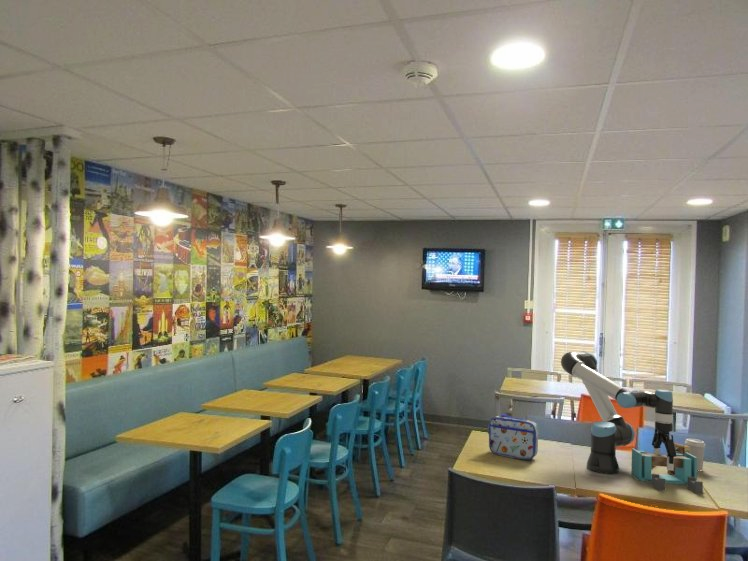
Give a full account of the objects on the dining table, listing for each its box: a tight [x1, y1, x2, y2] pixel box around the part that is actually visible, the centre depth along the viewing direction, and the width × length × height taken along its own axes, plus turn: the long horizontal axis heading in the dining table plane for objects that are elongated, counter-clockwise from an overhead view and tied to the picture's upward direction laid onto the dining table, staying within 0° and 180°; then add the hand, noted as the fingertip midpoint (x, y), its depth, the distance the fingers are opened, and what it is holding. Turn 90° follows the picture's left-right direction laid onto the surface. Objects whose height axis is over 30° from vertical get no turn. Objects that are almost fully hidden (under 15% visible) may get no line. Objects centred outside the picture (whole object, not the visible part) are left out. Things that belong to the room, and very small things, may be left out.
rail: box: [642, 453, 687, 468], centre depth 241 cm, size 22×4×4 cm, turn 83°
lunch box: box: [486, 413, 539, 461], centre depth 271 cm, size 28×10×22 cm, turn 58°
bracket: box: [631, 447, 698, 486], centre depth 241 cm, size 26×9×13 cm, turn 83°
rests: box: [651, 473, 704, 495], centre depth 228 cm, size 19×7×5 cm, turn 83°
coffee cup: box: [684, 438, 707, 472], centre depth 261 cm, size 10×10×15 cm
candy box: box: [667, 442, 689, 475], centre depth 250 cm, size 9×4×15 cm, turn 26°
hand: (663, 465), depth 241 cm, fingers open, 13 cm apart
